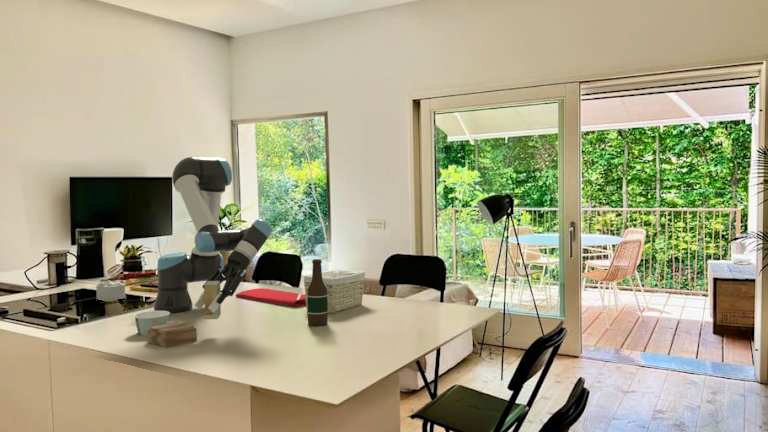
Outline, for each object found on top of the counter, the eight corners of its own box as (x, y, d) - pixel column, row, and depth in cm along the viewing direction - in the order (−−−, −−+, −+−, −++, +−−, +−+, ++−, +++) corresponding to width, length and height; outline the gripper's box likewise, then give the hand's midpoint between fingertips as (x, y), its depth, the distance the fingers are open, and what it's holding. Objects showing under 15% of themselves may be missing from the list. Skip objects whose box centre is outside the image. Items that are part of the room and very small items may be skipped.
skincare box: (208, 315, 202) (207, 280, 201) (221, 315, 202) (220, 280, 202) (204, 319, 196) (203, 283, 195) (217, 319, 196) (216, 283, 195)
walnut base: (147, 342, 190) (147, 327, 190) (177, 335, 199) (177, 321, 199) (166, 347, 184) (166, 332, 184) (196, 340, 193) (196, 325, 192)
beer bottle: (324, 326, 210) (323, 261, 209) (304, 326, 212) (303, 260, 211) (330, 322, 218) (330, 258, 217) (311, 321, 219) (310, 258, 218)
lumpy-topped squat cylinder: (107, 303, 258) (106, 284, 257) (90, 300, 265) (90, 281, 264) (128, 299, 267) (128, 280, 266) (112, 296, 274) (111, 278, 273)
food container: (148, 338, 196) (147, 319, 196) (126, 333, 202) (125, 315, 202) (177, 330, 206) (177, 312, 206) (156, 326, 212) (155, 309, 212)
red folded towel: (262, 293, 282) (262, 285, 282) (320, 303, 256) (320, 295, 256) (235, 298, 270) (235, 290, 270) (293, 309, 244) (293, 300, 244)
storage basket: (337, 301, 259) (336, 268, 259) (367, 304, 251) (366, 270, 250) (302, 310, 239) (301, 275, 239) (333, 315, 231) (332, 278, 230)
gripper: (266, 265, 204) (229, 319, 192) (230, 260, 216) (193, 311, 204) (254, 252, 200) (215, 306, 188) (218, 247, 212) (179, 298, 200)
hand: (204, 308), depth 196 cm, fingers closed on skincare box, 7 cm apart
